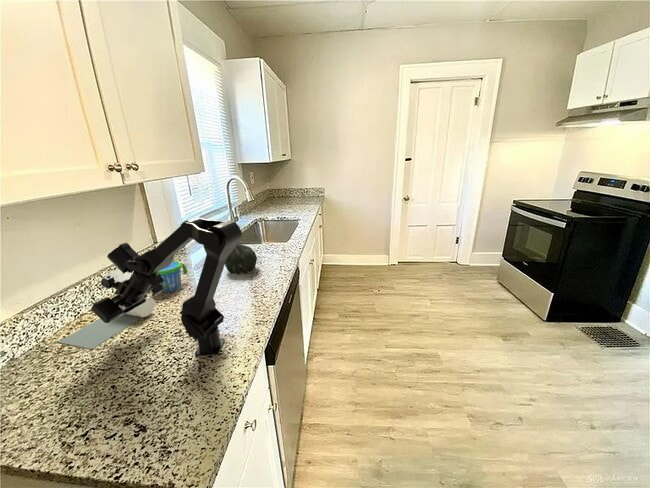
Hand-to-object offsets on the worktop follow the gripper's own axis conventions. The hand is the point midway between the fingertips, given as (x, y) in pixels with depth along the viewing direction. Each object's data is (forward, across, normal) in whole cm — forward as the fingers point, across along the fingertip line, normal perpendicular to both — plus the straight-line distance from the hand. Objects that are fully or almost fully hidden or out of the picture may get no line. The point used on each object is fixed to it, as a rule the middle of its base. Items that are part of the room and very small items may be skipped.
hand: (121, 312), depth 86 cm
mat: (+12, 0, -2) cm, 12 cm away
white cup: (+3, -9, +2) cm, 10 cm away
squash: (-2, -51, +12) cm, 52 cm away
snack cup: (+12, -29, -2) cm, 31 cm away
